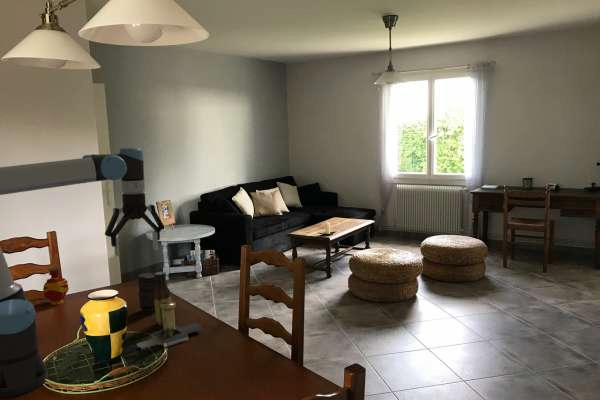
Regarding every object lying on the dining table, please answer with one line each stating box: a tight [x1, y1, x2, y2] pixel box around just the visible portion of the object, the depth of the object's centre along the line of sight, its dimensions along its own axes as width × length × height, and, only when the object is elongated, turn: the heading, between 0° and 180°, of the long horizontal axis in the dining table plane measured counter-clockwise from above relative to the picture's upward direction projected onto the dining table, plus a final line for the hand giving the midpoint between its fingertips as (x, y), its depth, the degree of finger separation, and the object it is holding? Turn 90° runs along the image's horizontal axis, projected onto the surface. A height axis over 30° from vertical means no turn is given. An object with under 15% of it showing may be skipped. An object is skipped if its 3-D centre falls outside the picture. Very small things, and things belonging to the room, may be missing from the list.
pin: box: [160, 300, 177, 338], centre depth 162 cm, size 5×5×13 cm
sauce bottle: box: [154, 271, 172, 327], centre depth 176 cm, size 6×6×20 cm
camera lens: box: [137, 272, 156, 314], centre depth 190 cm, size 8×8×15 cm
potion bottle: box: [42, 267, 70, 306], centre depth 202 cm, size 10×10×15 cm
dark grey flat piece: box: [136, 322, 203, 350], centre depth 163 cm, size 22×9×2 cm, turn 130°
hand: (136, 252), depth 165 cm, fingers open, 13 cm apart
